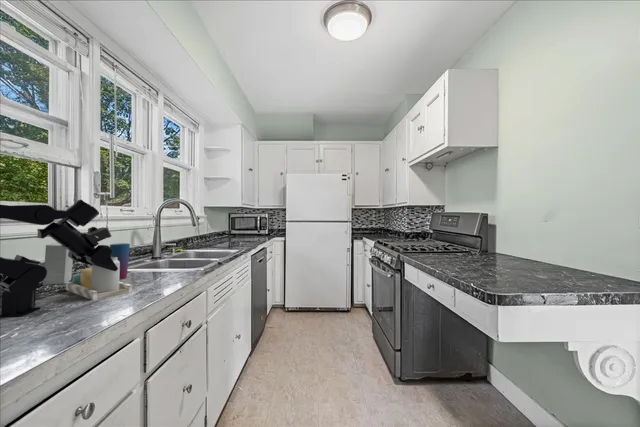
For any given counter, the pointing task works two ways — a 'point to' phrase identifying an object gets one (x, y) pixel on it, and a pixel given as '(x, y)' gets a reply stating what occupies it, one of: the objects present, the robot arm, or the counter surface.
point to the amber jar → (86, 277)
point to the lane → (93, 294)
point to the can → (105, 278)
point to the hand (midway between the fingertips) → (110, 268)
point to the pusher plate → (76, 279)
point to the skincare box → (57, 264)
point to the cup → (121, 257)
